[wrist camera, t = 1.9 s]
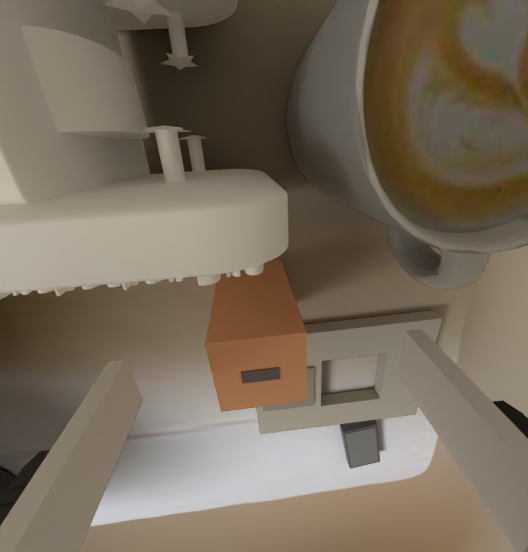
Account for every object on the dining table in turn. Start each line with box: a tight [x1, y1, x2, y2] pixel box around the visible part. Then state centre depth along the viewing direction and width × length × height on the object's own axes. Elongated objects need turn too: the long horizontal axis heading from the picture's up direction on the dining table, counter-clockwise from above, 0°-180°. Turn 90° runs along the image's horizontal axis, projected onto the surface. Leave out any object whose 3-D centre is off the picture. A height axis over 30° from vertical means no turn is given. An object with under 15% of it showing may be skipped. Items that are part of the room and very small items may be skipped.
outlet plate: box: [256, 310, 442, 434], centre depth 24 cm, size 16×12×1 cm
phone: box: [340, 420, 380, 468], centre depth 29 cm, size 4×7×1 cm, turn 15°
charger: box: [205, 259, 307, 411], centre depth 16 cm, size 4×4×9 cm
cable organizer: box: [0, 0, 289, 299], centre depth 9 cm, size 15×11×12 cm
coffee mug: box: [287, 0, 528, 290], centre depth 11 cm, size 13×10×10 cm
